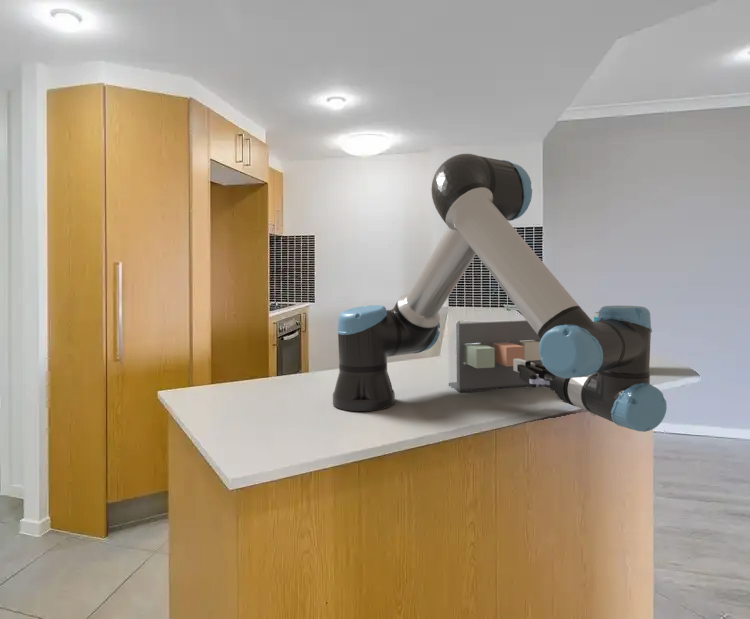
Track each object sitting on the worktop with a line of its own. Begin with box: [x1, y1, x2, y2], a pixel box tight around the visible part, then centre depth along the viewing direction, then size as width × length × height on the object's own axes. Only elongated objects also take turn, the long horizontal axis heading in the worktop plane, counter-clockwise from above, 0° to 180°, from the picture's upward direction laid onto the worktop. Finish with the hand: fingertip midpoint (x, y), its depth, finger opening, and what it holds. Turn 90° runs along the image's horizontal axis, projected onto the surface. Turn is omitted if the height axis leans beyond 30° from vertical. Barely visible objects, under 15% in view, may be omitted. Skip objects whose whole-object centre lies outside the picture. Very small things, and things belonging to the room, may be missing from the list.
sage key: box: [464, 343, 495, 368], centre depth 119 cm, size 8×5×5 cm, turn 12°
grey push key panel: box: [448, 319, 544, 393], centre depth 128 cm, size 8×24×18 cm, turn 102°
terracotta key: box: [492, 341, 524, 366], centre depth 121 cm, size 8×5×5 cm, turn 12°
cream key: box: [520, 340, 541, 361], centre depth 128 cm, size 8×5×5 cm, turn 12°
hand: (516, 364), depth 109 cm, fingers closed
